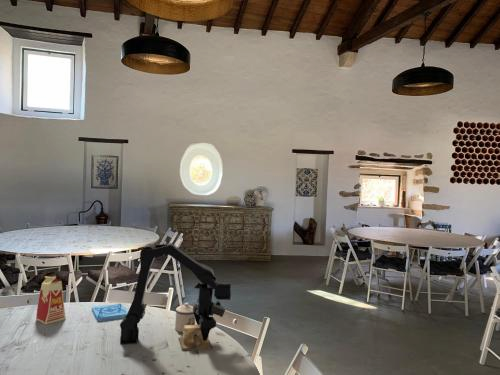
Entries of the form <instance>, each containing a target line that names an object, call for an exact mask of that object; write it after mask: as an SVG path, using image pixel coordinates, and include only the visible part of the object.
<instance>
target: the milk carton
mask: <svg viewBox="0 0 500 375" xmlns="http://www.w3.org/2000/svg"><path fill="white" fill-rule="evenodd" d="M44 278H45V279H44V281H43V282H41V287H40V289H39V290H40V291H39V295H38V302H37V308H36V315H35V320H36V321H38V322H40V323H43V324H44V325H49V324H52V323H56V322H60V321H63V320H66V311H65V310H66V309H65V303H64V293H63V284H62V283H63V282H62V280H60V279H58V278H57V275H54V276H44Z"/></svg>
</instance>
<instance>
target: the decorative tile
mask: <svg viewBox="0 0 500 375" xmlns="http://www.w3.org/2000/svg"><path fill="white" fill-rule="evenodd" d="M91 312H92V314H93V316H94V318H95V320H96V322H103V321H111V320H117V319H118V320H119V319H120V320H121V319H124V317H125V316H126V315H127V313H128V310H127V309H126V307H125V306H124V305H123V304H121V303H115V304H114V303H113V304H105V305H97V306H92V307H91Z"/></svg>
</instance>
